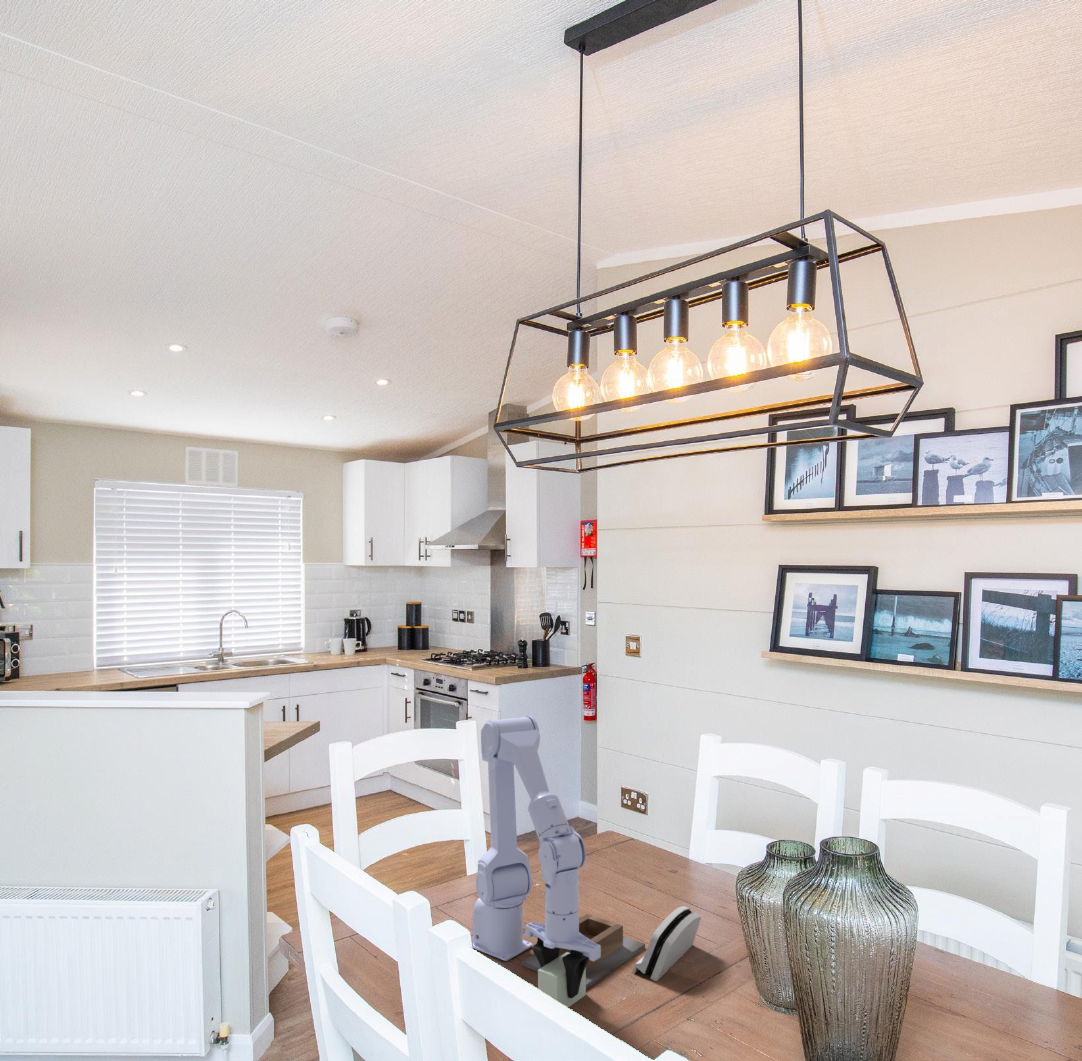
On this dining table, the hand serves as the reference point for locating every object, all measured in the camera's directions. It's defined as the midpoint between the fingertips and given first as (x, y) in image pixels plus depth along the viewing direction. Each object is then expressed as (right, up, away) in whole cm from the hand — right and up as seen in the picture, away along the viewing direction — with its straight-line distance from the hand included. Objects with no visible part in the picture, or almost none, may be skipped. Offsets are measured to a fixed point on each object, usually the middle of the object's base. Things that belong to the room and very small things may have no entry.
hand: (562, 991), depth 134 cm
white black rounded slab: (+20, -3, +14) cm, 25 cm away
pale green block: (0, -2, 0) cm, 2 cm away
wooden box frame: (+5, -2, +15) cm, 16 cm away
